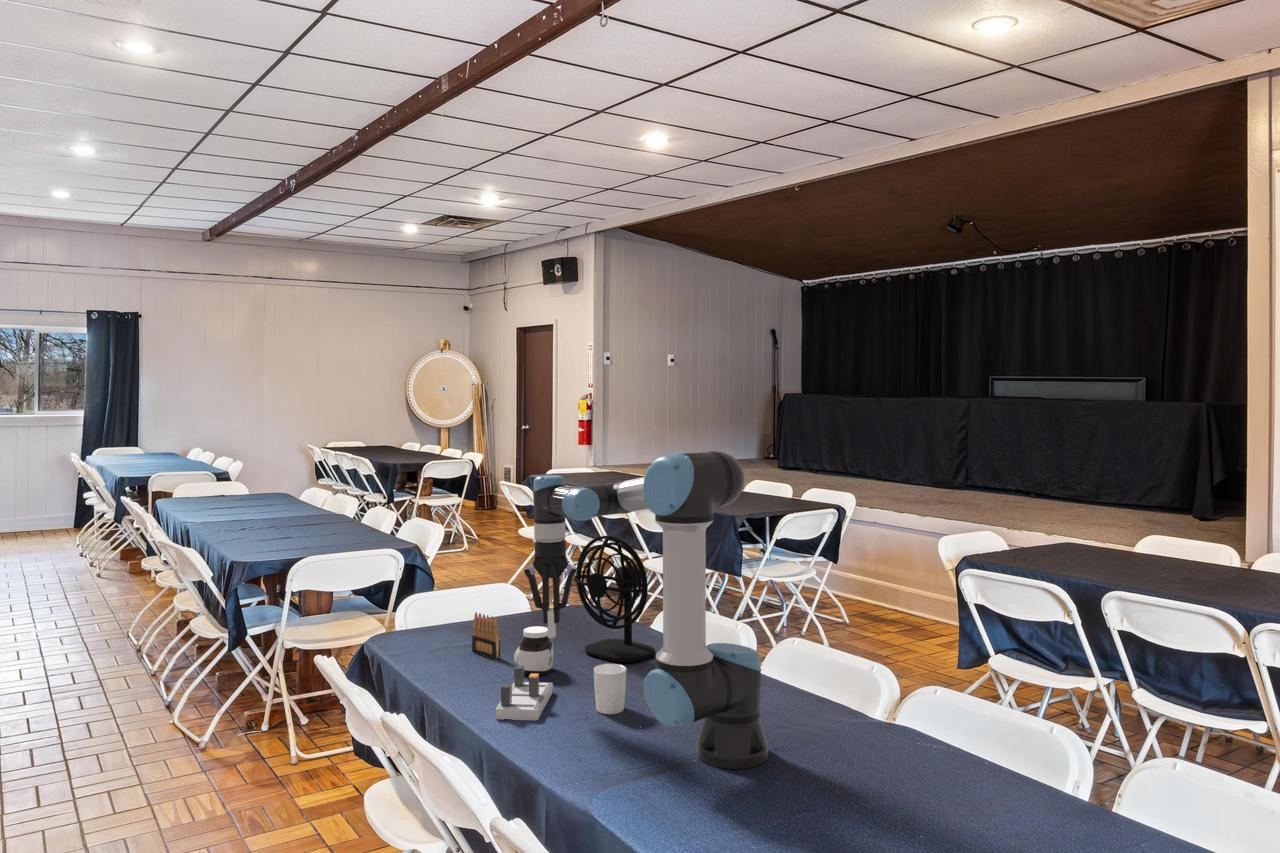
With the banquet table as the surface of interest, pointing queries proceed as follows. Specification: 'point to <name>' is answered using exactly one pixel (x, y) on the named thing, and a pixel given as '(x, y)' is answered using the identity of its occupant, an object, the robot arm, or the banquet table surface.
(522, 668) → the handle
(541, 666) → the spread jar
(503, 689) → the handle
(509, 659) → the banquet table surface
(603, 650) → the desk fan
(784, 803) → the banquet table surface
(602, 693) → the white cup
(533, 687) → the handle
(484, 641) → the ammunition clip
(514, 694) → the breaker panel
